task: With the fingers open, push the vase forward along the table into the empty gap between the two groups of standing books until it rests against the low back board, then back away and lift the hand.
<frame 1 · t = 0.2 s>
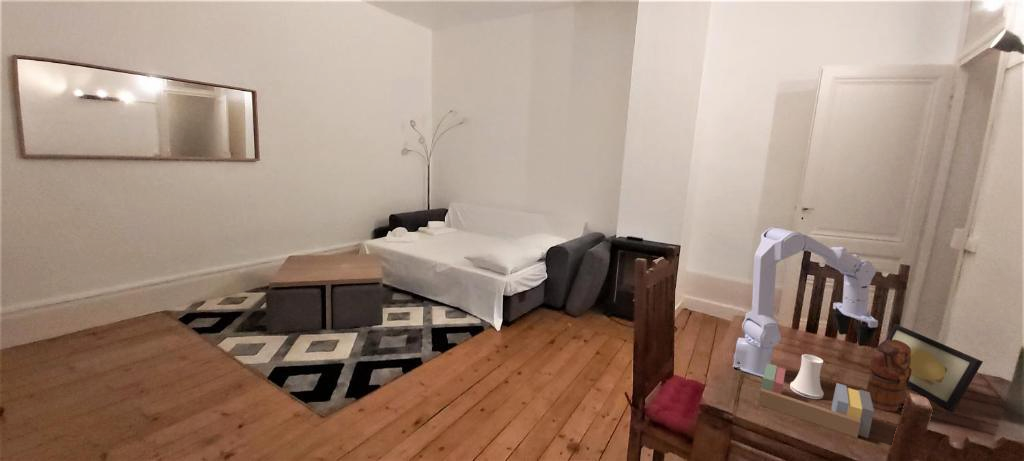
hand: (852, 339, 123), 11 cm above the table, tool pointing down, fingers open, 7 cm apart
wooden figurine: (884, 404, 108), on the table
vase: (806, 391, 112), on the table
book row: (805, 407, 104), on the table
picture frame: (921, 387, 117), on the table
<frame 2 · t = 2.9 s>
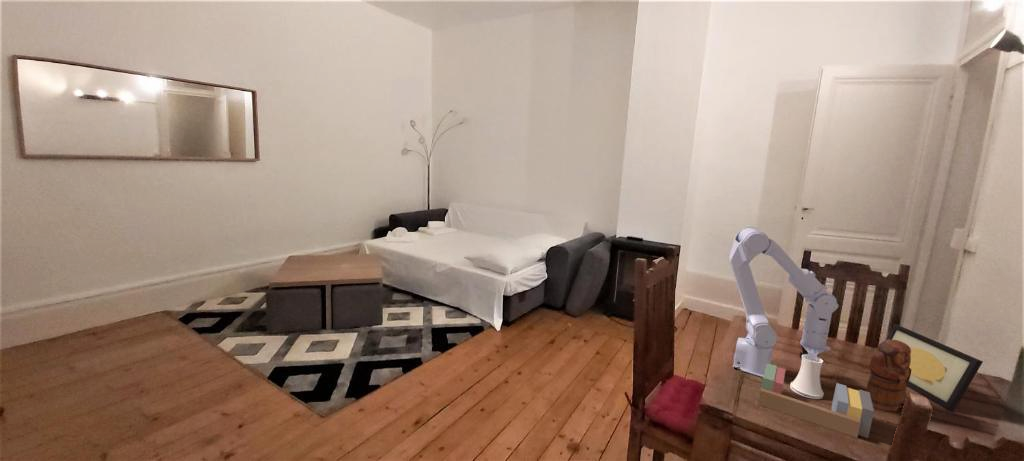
hand: (807, 372, 119), 2 cm above the table, tool pointing down, fingers open, 7 cm apart
vase: (806, 391, 112), on the table, touching gripper
everything else where it was.
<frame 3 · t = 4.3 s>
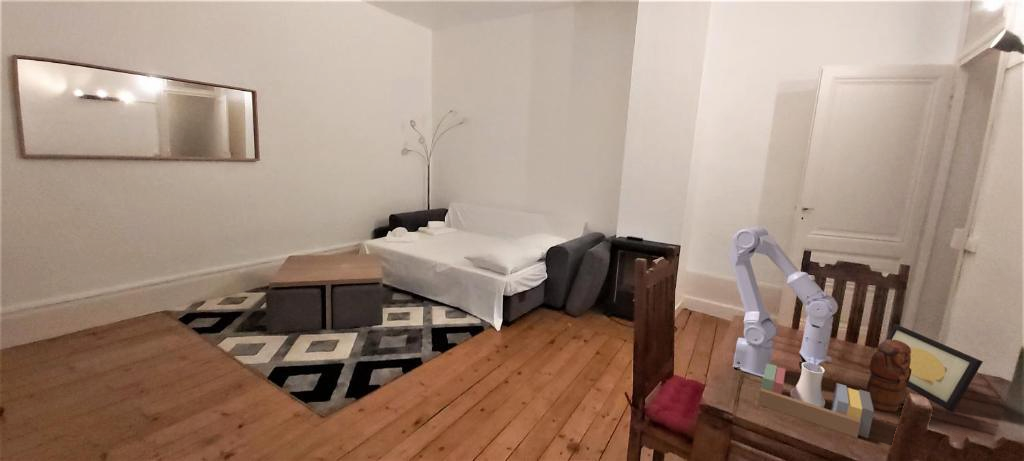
hand: (807, 383, 113), 2 cm above the table, tool pointing down, fingers open, 6 cm apart
vase: (806, 400, 107), on the table, touching gripper
everything else where it was.
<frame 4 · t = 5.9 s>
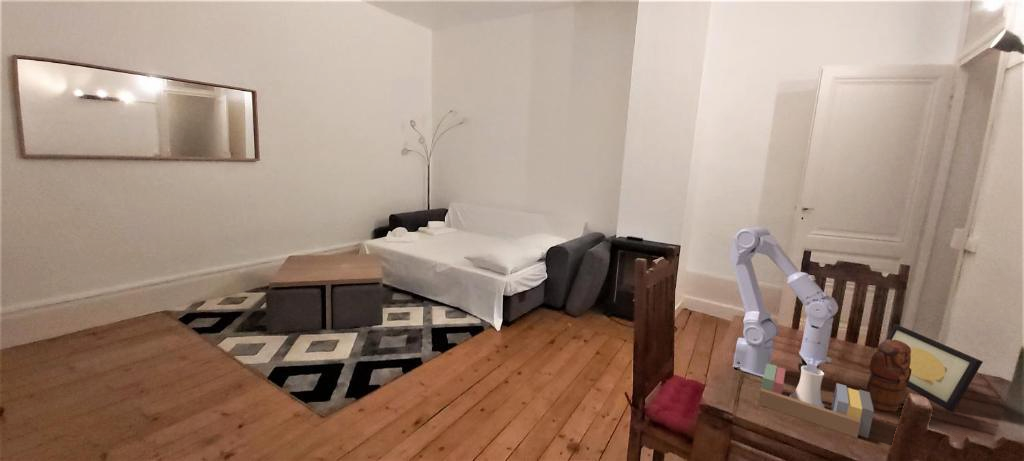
hand: (807, 384, 112), 2 cm above the table, tool pointing down, fingers open, 7 cm apart
vase: (805, 405, 106), on the table, touching gripper
everything else where it was.
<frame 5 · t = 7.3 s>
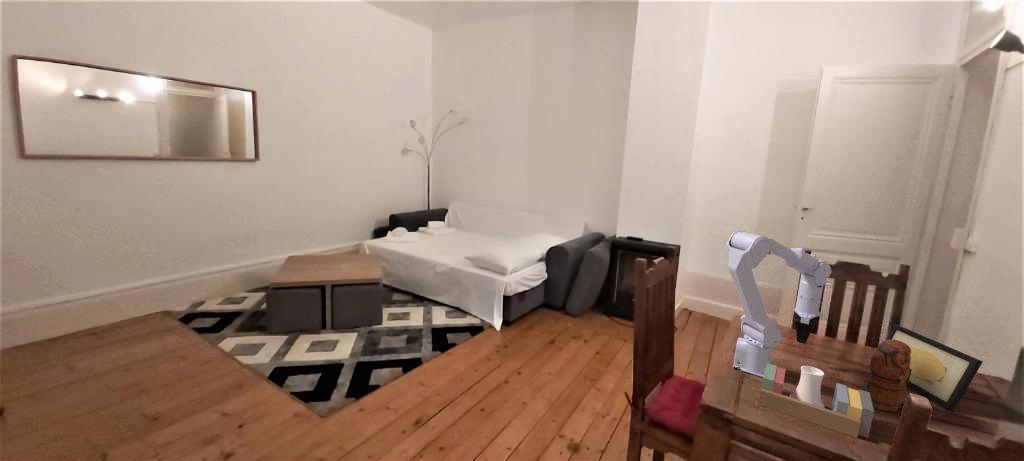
hand: (801, 338, 125), 9 cm above the table, tool pointing down, fingers open, 7 cm apart
vase: (805, 405, 106), on the table
everything else where it was.
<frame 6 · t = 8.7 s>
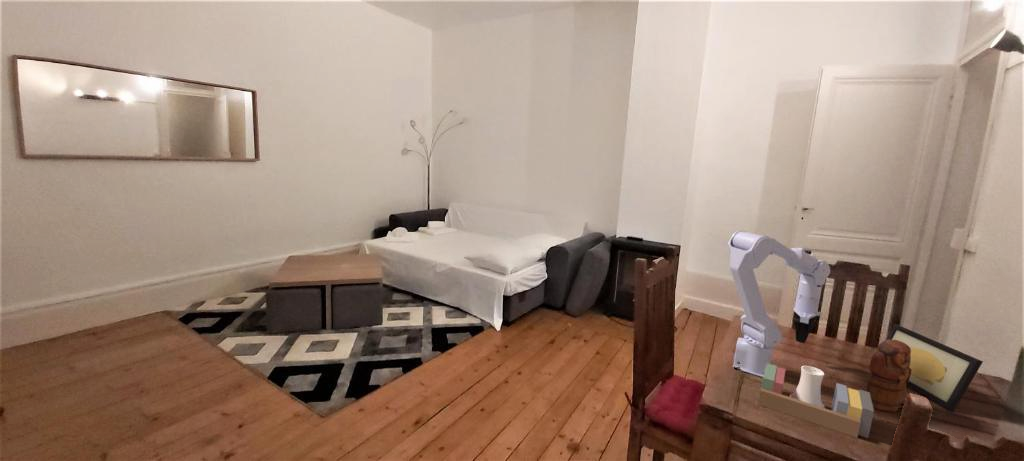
hand: (800, 337, 125), 9 cm above the table, tool pointing down, fingers open, 7 cm apart
nothing on the table moved.
at the end: vase 1.7 cm from the target spot, on the table; vase tilted 0°; vase moved 8.3 cm from its start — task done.
